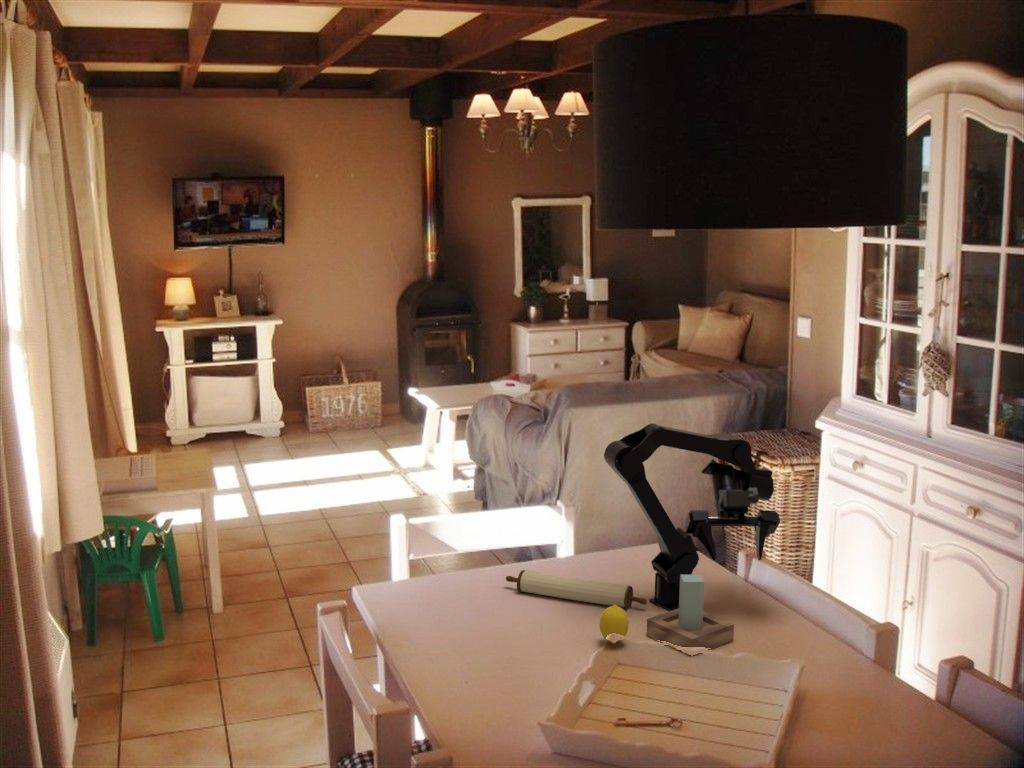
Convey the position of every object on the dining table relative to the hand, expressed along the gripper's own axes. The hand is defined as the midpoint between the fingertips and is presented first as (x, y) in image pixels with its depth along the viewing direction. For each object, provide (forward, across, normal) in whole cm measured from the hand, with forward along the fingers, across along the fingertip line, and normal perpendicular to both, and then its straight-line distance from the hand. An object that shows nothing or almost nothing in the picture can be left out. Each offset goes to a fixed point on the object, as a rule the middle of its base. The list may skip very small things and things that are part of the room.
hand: (737, 559), depth 211 cm
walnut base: (+15, -11, +4) cm, 19 cm away
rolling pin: (+1, -32, +19) cm, 37 cm away
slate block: (+13, -11, +2) cm, 17 cm away
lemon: (+17, -26, +3) cm, 31 cm away
